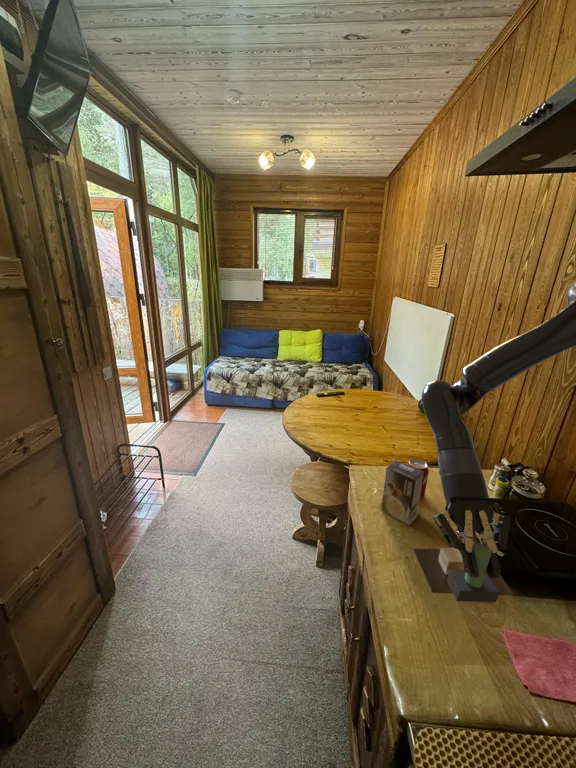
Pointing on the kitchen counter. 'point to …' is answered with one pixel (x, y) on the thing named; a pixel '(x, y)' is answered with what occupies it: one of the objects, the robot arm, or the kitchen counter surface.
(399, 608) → the kitchen counter surface
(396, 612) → the kitchen counter surface
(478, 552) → the green post on base
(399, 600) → the kitchen counter surface
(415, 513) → the coffee box
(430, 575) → the board
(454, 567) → the beige cube
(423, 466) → the soda can
